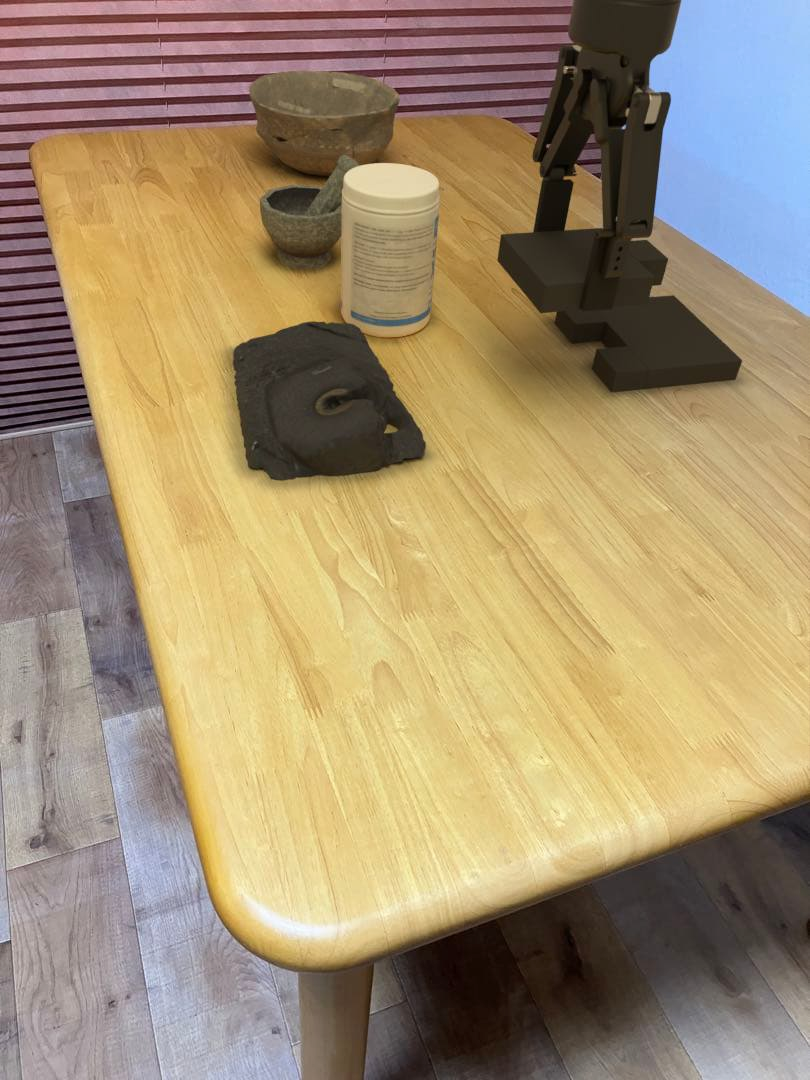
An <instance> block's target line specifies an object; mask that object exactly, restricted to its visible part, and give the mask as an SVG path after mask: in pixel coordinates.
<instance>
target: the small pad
mask: <svg viewBox="0 0 810 1080" xmlns="http://www.w3.org/2000/svg"><path fill="white" fill-rule="evenodd" d="M600 229H603V227H596V228H595V227H594V228H579V229H565V230H561V231H545V232H533V231H531V232H517V233H503V234H502V233H501V234H500V238H499V239H500V240H499V244H498V245H499V246H498V253H497V259H496V260H497V262H498V264H499V265H500V266H501V267H502V269H503V270H504V271H505V272H506V274H507V275H508V276H509V277H510V278H511V279H512V281H513V282H514V283H515V284H516V285H517V287H518V288H519V289H520V290H521V292H522V293H523V294H524V295H525V296H526V297H527V298H528V300H529V301H530V302H531V304H532V305H533V306H534V307H535V308H536V309H537V311H538V312H539V313H540V314H548V313H557V312H561V311H572V310H581V309H580V308H579V306H580V302H581V297H582V293H583V288H584V284H585V278H586V274H587V269H588V265H589V260H590V255H591V251H592V246H593V242H594V237H595V232H594V231H596V230H600ZM668 263H669V258H668V257H667V255H665V254H664V253H663V252H662V251H661V250H659V249H658V248H657V247H656V246H654V245H653V244H652V242H650V241H649V240H648V239H641V240H640V239H637V240H631V241H630V244H629V248H628V252H627V256H626V259H625V264H624V269H623V272H622V274H621V276H620V279H619V283H618V287H617V291H616V295H615V299H614V303H613V307H617V306H628V305H639V304H647V303H648V300H649V297H651V296H650V295H651V292H652V289H653V287H655V286H656V287H657V286H662V285H663V284H662V283H663V280H664V276H665V273H666V269H667V265H668Z"/></svg>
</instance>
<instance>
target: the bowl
mask: <svg viewBox="0 0 810 1080" xmlns="http://www.w3.org/2000/svg"><path fill="white" fill-rule="evenodd" d="M248 90H249V98H250V100H251V104H252V106H253V108H254V112H255V117H256V127H255V130H256V133H257V135H258V136H259V137H260V138H261V139H262V141H263V142H264V143H265V145H266V146H267V148H268V149H269V150H270V151H271V153H272V154H274V157H276V158H277V159H278V160H280V161H281V163H283V164H285V165H286V166H289V167H290V168H292V169H294V170H296V171H299V172H301V173H304V174H307V175H312V176H316V177H330V176H331V174H332V173H333V171H334V170H335V168H336V167H337V161H338V159H339V157H340V156H342V155H346V156H349V157H351V158H352V159H354V160H355V161H356V162H357V163H358V164H359V165H360V166H361V165H366V164H373V163H374V162H375V161H376V160H377V159H378V157H379V156H380V155H382V153H384V152H385V150H386V149H388V146H389V145H390V143H391V141H392V140H393V137H394V123H395V117H396V114H397V110H398V108H399V103H400V101H401V98H400V94H399V93H398V92H397V91H396V89H395V88H394V87H392V86H390V85H389V84H387V83H385V82H382V81H379V80H378V79H375V78H372V77H368V76H365V75H361V74H355V73H351V72H350V73H347V72H342V71H341V72H340V71H330V70H306V69H305V70H303V69H302V70H287V71H280V72H275V73H270V74H265V75H262V76H259V77H258V78H257V79H255V80H254V81H253V82H252V83H251V84H250V85H249V88H248Z"/></svg>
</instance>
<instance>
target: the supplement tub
mask: <svg viewBox="0 0 810 1080" xmlns="http://www.w3.org/2000/svg"><path fill="white" fill-rule="evenodd" d="M440 199H441V197H440V180H439V178H437V177H436V175H434V174H433V173H431V172H429V171H428V170H426V169H424V168H420V167H416V166H414V165H409V164H405V163H404V164H403V163H392V162H377V163H376V162H375V163H374V162H373V163H371V164H366V165H361V166H357V167H355V168H352V169H351V170H349V171H348V172H347V173H346V174H345V175H344V180H343V189H342V214H341V237H340V239H341V241H340V243H341V245H340V250H341V251H340V313H341V316H342V319H343V321H344V323H350V324H353V325H355V326H357V327H358V328H360V330H361V332H362V333H363V334H364V335H368V336H372V337H376V338H377V337H378V338H385V339H386V338H390V339H391V338H402V337H406V336H410V335H413V334H416V333H417V332H419V331H421V330H422V329H423V328H424V327H426V326H427V324H428V323H429V321H430V318H431V311H432V302H433V301H432V300H433V288H434V276H435V266H436V253H437V242H438V241H437V240H438V231H439V217H440V204H441V203H440V201H441V200H440Z"/></svg>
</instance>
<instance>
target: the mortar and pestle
mask: <svg viewBox="0 0 810 1080" xmlns="http://www.w3.org/2000/svg"><path fill="white" fill-rule="evenodd" d="M357 166H360V165H359V164H358V163H357V162H356V161H355V160H354V159H352V158H351V157H349V156H346V155H342V156H340V157H339V159H338V161H337V167H336V168H335V170H334V171H333V173H332V174H331V176H328V179H327V180H326V181H325V183H324V185H323V186H320V185H304V184H303V185H302V184H301V185H300V184H290V185H285V186H280V187H275V188H269V190H268V191H267V192H265V193H264V194H263V195H262V196H261V197H259V213H260V218H261V222H262V223H261V224H262V225H263V227H264V229H265V231H266V233H267V234H268V236H269V238H270V240H271V241H272V243H273V245H274V246H275V247H277V248H278V249H277V258H278V260H279V262H280V263H281V264H282V265H283V266H287V267H289V268H292V269H295V270H316V269H319V268H323V267H326V266H327V265H328V264H329V263H330V261H331V260H332V253H331V250H332V249H333V248H334V247H335V245H336V244H337V243H338V242H339V240H340V239H341V214H342V189H343V180H344V175H345V174H346V173H347V172H348V171H349V170H351V169H352V168H355V167H357Z"/></svg>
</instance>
